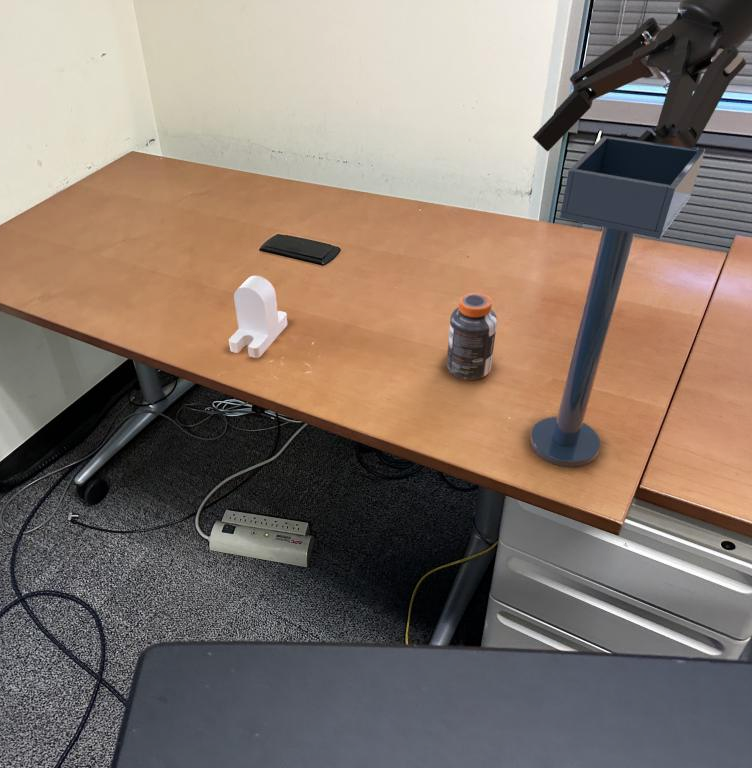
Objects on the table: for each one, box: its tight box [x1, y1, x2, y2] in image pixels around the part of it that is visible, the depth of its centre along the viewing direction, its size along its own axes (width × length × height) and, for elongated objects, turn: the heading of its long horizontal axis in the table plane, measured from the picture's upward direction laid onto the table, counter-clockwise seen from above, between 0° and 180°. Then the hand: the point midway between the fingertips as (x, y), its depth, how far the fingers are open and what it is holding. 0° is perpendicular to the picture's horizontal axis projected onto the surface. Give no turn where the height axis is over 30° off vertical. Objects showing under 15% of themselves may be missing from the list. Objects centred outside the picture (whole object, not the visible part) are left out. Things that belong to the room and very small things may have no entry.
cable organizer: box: [228, 275, 288, 359], centre depth 104 cm, size 5×10×10 cm, turn 149°
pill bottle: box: [446, 292, 498, 381], centre depth 92 cm, size 6×6×11 cm
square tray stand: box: [529, 135, 706, 468], centre depth 72 cm, size 8×8×36 cm
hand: (569, 165), depth 78 cm, fingers open, 13 cm apart
